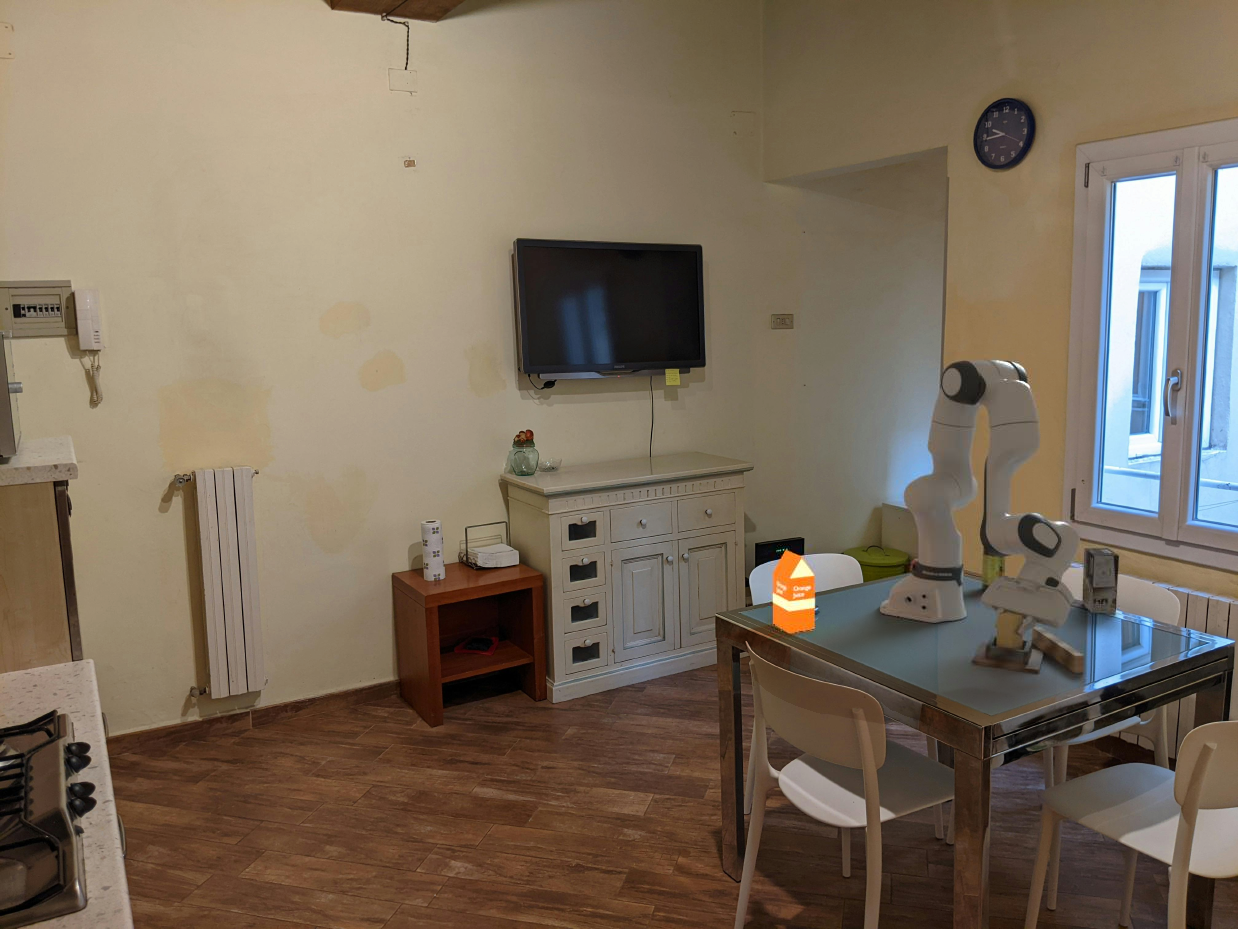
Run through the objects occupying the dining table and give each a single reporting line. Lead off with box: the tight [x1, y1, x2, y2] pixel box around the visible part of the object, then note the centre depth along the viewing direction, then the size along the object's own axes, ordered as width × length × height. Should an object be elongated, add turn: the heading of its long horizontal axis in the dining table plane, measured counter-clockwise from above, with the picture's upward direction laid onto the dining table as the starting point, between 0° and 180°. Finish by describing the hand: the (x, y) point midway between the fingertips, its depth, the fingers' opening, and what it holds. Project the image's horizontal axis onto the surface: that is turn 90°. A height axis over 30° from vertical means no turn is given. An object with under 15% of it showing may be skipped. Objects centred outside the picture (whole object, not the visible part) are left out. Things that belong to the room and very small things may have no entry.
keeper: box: [972, 634, 1045, 674], centre depth 213 cm, size 14×14×4 cm
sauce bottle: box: [981, 546, 1007, 591], centre depth 268 cm, size 6×6×20 cm
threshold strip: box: [1031, 626, 1085, 674], centre depth 213 cm, size 20×2×4 cm, turn 1°
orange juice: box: [772, 549, 816, 634], centre depth 239 cm, size 8×9×20 cm
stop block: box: [996, 612, 1024, 650], centre depth 212 cm, size 4×4×8 cm
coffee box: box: [1081, 547, 1120, 615], centre depth 248 cm, size 9×6×16 cm
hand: (1008, 631), depth 212 cm, fingers closed on stop block, 4 cm apart
